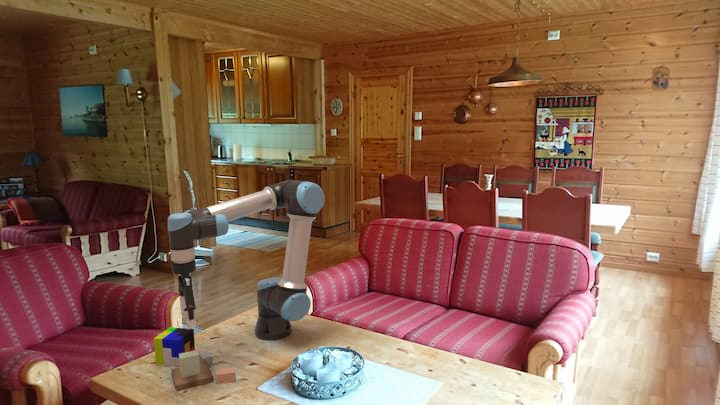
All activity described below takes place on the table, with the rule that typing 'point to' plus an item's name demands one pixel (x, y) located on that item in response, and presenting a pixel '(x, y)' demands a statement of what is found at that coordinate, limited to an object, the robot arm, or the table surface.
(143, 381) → the table surface
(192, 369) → the sage brick
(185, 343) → the puzzle toy
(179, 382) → the walnut slab
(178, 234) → the robot arm
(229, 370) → the terracotta brick
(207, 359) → the grey brick
